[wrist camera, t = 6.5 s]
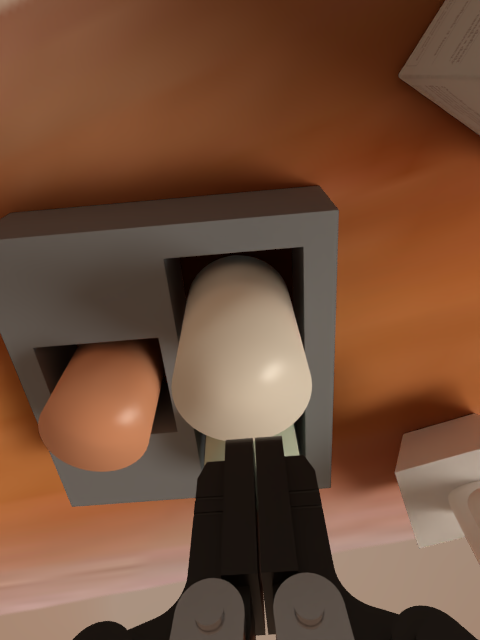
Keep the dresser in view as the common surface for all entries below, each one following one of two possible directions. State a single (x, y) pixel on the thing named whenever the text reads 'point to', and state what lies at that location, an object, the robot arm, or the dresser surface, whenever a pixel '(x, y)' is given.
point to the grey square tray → (160, 311)
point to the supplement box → (450, 62)
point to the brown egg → (104, 405)
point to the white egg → (240, 353)
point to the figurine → (442, 481)
